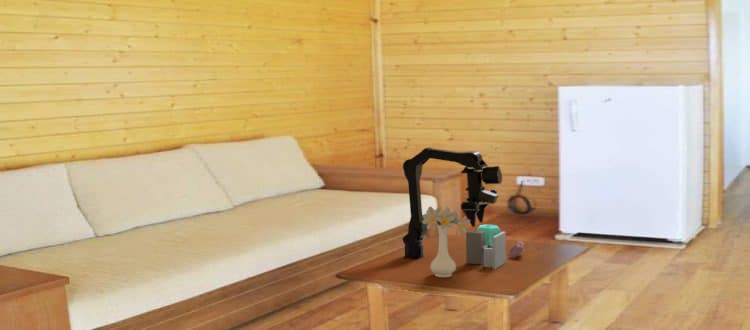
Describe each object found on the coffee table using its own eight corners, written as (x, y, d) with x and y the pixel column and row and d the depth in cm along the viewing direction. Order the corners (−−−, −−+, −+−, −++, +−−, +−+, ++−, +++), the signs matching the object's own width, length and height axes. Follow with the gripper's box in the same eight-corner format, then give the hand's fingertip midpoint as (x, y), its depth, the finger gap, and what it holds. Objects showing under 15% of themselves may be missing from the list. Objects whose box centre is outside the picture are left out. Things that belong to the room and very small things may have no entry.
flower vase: (461, 282, 302) (460, 212, 299) (414, 276, 312) (413, 208, 309) (476, 274, 313) (475, 206, 311) (430, 269, 323) (430, 203, 320)
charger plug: (466, 263, 330) (466, 232, 329) (470, 260, 334) (470, 230, 333) (484, 264, 327) (484, 233, 325) (489, 262, 331) (489, 231, 330)
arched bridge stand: (482, 267, 323) (482, 236, 322) (492, 261, 334) (492, 230, 333) (495, 268, 321) (495, 237, 320) (505, 262, 332) (505, 231, 330)
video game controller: (518, 262, 337) (526, 247, 336) (507, 257, 338) (515, 242, 336) (518, 257, 347) (526, 242, 345) (508, 252, 347) (516, 237, 346)
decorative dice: (474, 244, 365) (474, 226, 364) (487, 242, 370) (487, 223, 369) (489, 247, 359) (489, 228, 358) (501, 244, 364) (501, 226, 363)
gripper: (487, 187, 317) (490, 228, 318) (502, 180, 334) (504, 220, 335) (459, 187, 322) (461, 228, 323) (474, 181, 339) (477, 220, 340)
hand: (477, 224), depth 330 cm, fingers open, 9 cm apart
